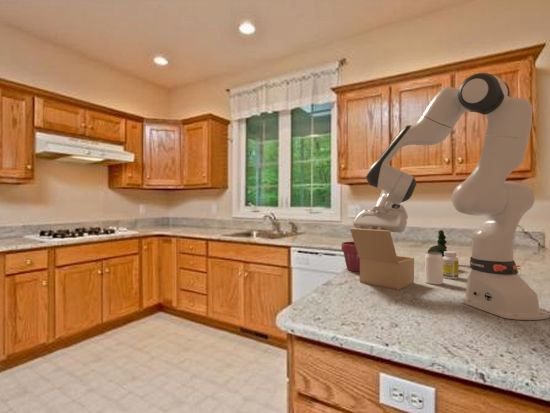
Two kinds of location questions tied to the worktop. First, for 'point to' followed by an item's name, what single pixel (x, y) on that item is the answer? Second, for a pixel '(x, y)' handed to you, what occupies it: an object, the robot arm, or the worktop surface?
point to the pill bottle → (450, 265)
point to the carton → (388, 272)
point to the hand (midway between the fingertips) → (371, 237)
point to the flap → (374, 244)
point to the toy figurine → (440, 244)
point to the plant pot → (351, 256)
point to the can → (433, 268)
